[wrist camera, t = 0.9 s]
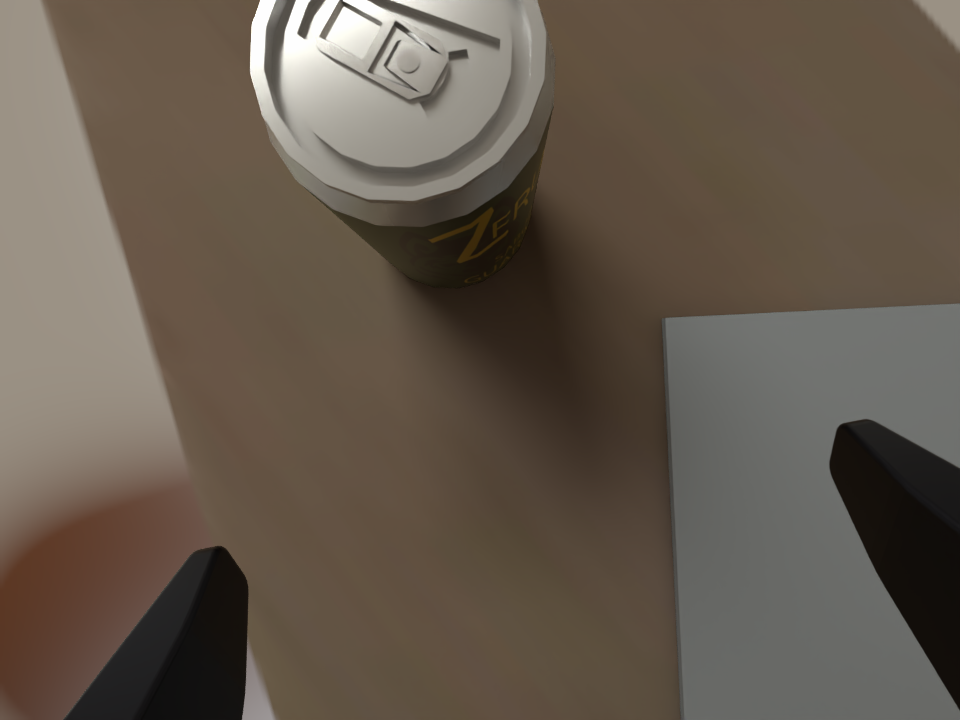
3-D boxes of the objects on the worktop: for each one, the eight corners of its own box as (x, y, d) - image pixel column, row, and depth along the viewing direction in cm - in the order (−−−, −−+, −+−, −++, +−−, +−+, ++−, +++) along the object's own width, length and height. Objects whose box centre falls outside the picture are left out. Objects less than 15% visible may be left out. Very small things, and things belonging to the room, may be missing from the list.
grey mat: (1045, 778, 22) (1058, 788, 22) (684, 788, 23) (688, 798, 22) (1022, 301, 22) (1034, 299, 22) (661, 318, 23) (665, 317, 22)
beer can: (345, 243, 23) (177, 117, 11) (421, 106, 23) (335, -170, 11) (481, 319, 23) (459, 275, 11) (558, 181, 23) (621, -14, 11)
